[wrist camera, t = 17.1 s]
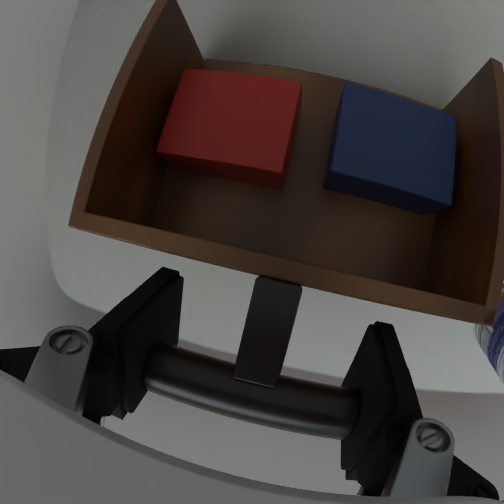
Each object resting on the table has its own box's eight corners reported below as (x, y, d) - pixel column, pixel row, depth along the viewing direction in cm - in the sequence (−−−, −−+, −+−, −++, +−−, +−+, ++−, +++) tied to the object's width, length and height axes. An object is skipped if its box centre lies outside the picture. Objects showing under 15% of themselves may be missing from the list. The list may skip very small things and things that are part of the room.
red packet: (177, 171, 14) (154, 151, 12) (200, 97, 14) (184, 67, 12) (283, 191, 14) (281, 173, 11) (300, 111, 14) (302, 81, 11)
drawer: (126, 320, 15) (39, 348, 8) (196, 63, 15) (155, -17, 9) (399, 387, 13) (456, 454, 7) (447, 117, 14) (509, 55, 7)
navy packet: (322, 188, 14) (330, 171, 11) (336, 110, 14) (344, 80, 11) (424, 216, 13) (452, 206, 10) (432, 139, 13) (456, 116, 10)
